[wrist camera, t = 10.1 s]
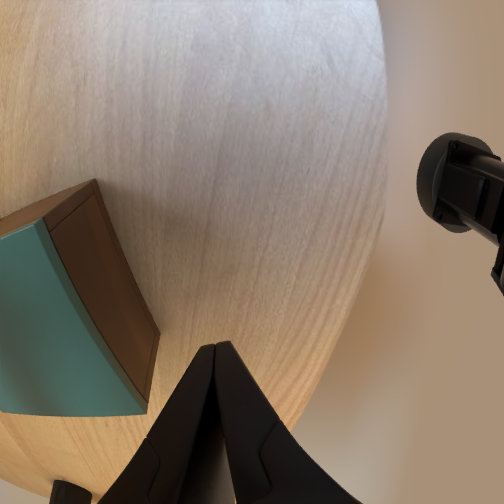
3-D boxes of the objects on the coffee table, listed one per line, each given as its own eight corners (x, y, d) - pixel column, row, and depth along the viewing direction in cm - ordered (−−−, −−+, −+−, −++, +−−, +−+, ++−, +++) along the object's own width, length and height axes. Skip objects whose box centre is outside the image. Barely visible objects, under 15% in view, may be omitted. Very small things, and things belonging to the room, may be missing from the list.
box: (36, 353, 23) (10, 406, 17) (-30, 234, 17) (-79, 275, 11) (160, 334, 23) (148, 404, 17) (95, 178, 17) (43, 216, 11)
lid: (5, 405, 17) (2, 412, 16) (-83, 277, 11) (-89, 283, 11) (148, 404, 17) (147, 414, 16) (42, 216, 11) (33, 223, 10)
